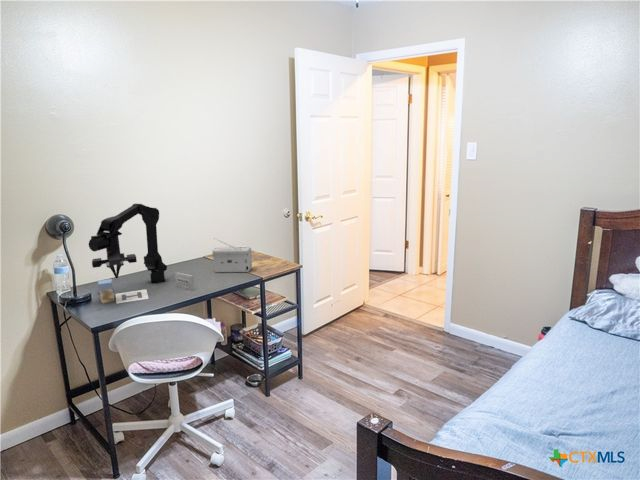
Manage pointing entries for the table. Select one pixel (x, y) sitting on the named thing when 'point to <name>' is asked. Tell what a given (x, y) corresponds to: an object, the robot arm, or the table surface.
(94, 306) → the table surface
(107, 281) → the slate-blue cube
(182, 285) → the cassette
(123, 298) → the letter plate
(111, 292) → the oak block
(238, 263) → the stereo radio cassette player
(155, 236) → the robot arm
